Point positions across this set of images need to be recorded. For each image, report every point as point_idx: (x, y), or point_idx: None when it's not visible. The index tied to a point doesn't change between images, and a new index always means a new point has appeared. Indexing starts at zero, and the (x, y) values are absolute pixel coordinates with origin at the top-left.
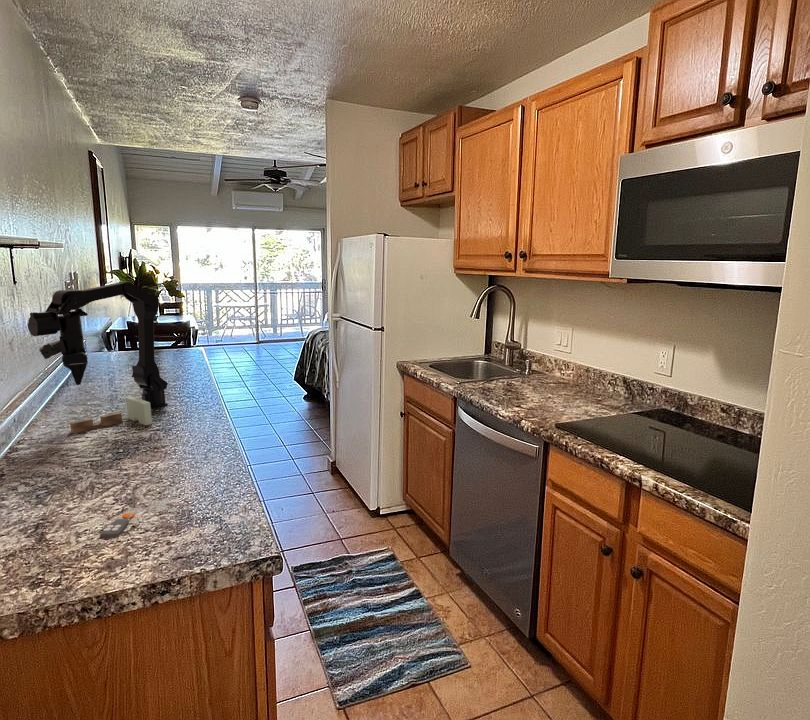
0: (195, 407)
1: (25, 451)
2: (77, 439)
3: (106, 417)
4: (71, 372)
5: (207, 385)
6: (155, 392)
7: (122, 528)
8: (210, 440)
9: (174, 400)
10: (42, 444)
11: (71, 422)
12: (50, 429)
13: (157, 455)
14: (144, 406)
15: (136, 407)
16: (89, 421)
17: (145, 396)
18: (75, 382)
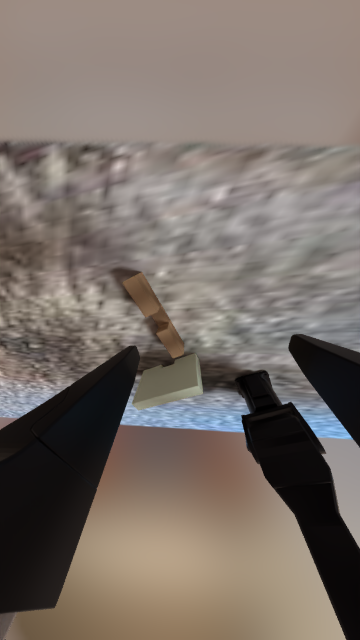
0: (208, 414)
1: (17, 191)
2: (90, 288)
3: (159, 336)
4: (32, 410)
5: (325, 434)
6: (250, 411)
7: None
8: None
9: None
10: (65, 223)
11: (132, 279)
12: (180, 220)
13: (20, 374)
14: (133, 399)
15: (160, 385)
16: (142, 311)
17: (251, 394)
18: (119, 352)
